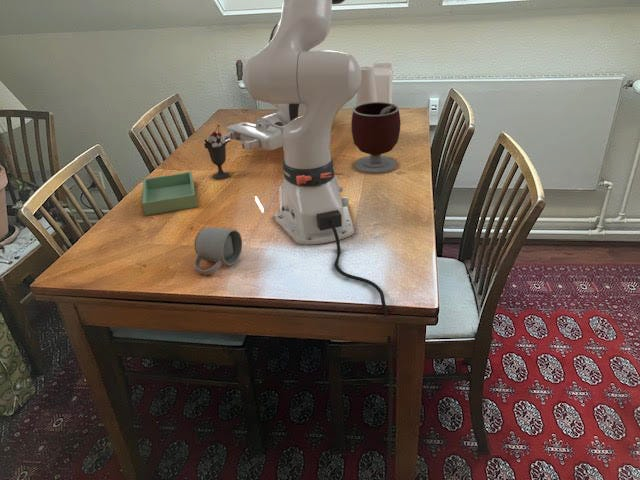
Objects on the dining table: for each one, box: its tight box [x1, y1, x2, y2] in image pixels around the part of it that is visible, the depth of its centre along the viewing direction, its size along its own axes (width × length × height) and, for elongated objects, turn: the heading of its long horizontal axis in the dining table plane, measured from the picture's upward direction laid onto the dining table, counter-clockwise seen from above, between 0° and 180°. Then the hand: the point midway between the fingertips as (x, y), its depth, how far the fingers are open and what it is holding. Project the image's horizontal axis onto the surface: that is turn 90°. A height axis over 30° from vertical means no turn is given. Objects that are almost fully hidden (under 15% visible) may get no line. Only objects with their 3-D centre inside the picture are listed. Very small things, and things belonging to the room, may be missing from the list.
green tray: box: [141, 171, 198, 216], centre depth 144 cm, size 16×13×4 cm
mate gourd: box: [351, 102, 401, 175], centre depth 151 cm, size 16×14×20 cm
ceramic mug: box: [194, 226, 243, 276], centre depth 113 cm, size 11×8×8 cm
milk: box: [373, 62, 393, 104], centre depth 180 cm, size 6×6×22 cm
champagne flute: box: [355, 65, 377, 106], centre depth 167 cm, size 7×7×24 cm
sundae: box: [203, 124, 230, 180], centre depth 152 cm, size 7×7×15 cm
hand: (233, 143), depth 155 cm, fingers open, 8 cm apart
